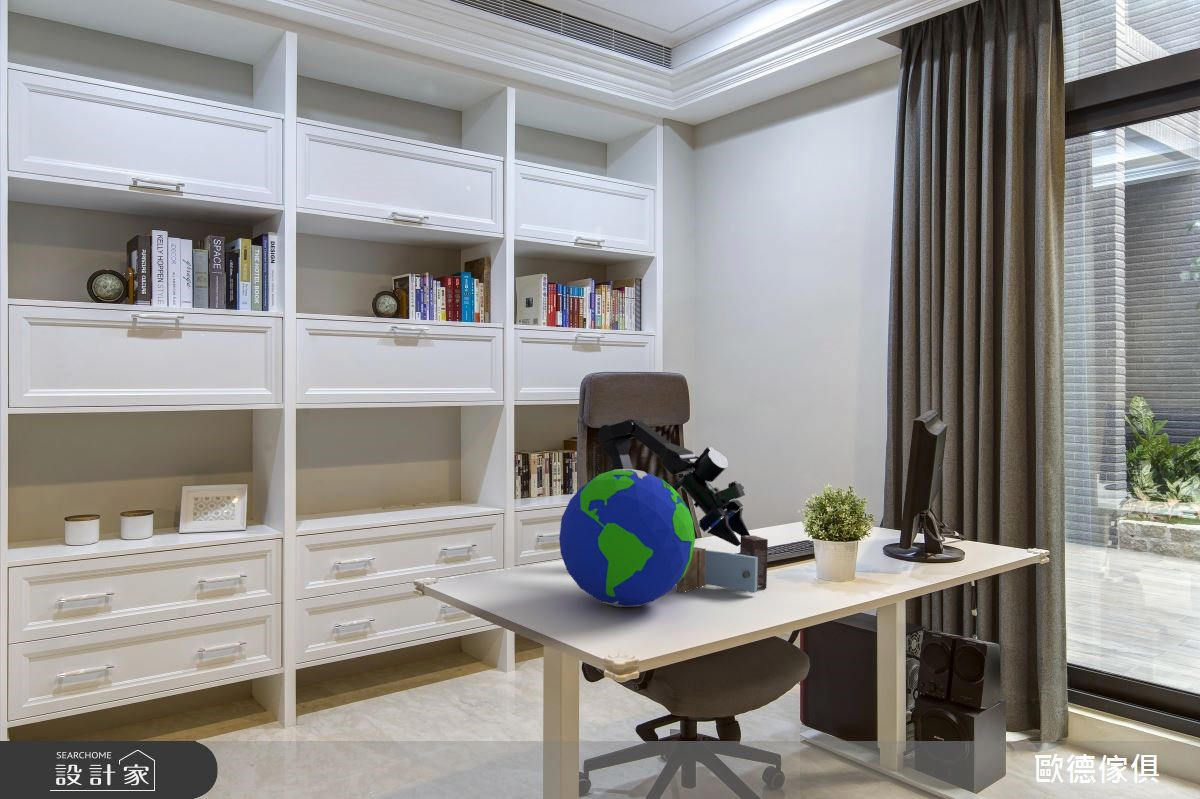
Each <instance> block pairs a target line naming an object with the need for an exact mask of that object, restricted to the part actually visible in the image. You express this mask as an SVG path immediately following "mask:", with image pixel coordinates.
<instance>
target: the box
mask: <svg viewBox="0 0 1200 799" xmlns="http://www.w3.org/2000/svg"><path fill="white" fill-rule="evenodd" d="M768 541H769V539H767V538H763V537H760V536H757V535H750V536H740V543H741V544H740V545H739V546H740V549H739V551H740V552H739V555H746V556H753V557H758V569H757V589H762V590H765V588H766V589H767V581H768V580H767V579H768V578H767V576H768V549H769V548H768V547H769V546H768V545H769V544H768Z"/></svg>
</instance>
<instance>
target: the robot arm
mask: <svg viewBox="0 0 1200 799" xmlns="http://www.w3.org/2000/svg"><path fill="white" fill-rule="evenodd" d="M597 439H598V442H599V444H600V447H601V449H602V450H603V452H604V453H605V454H606V455H607V456H608V457H609V458H610V460H611V463H612V467H613V470H618V469H633V470H634V468H633V465H632V464H633V463H632V460H631V458H630V454H629V451H630V448H631V439H636V440H637V441H638V442H639V443H641V444H642V445H643V446H644V447H646V449H649V451H651V452H652V453H654V454H655V455H656V456H657V457H658V458H659V460H660V463H661V465H662V466H663V468H664V469H665V470H666V471H667V472H668V474H671V475H679V474H684V475H683V476H682V477H678V478H676V479H675V480H674V490H675V491H676V492H678V491H679V490H681V489H683V490H684V491H685V492H686V493H687V494H688V496H689V497H690V498H691V499H692V500H693V502H694V503H693V505H694V507H695V508H700V510H701V511H702V512H703V513H704V516H702V518H701V519H699V520H698V527H699V528H700V529H701V530H702V532H704V533H705V532H707V534H709V535H712V536H715V537H717V538H719V539H721V540H723V541H725V542H727V543H729V544H732V545H733V546H735V547H739V546H740V544H741V543H740V542H741V540H739V538H738V537H737V535H739V536H740V537H741V536H751V534H750V532H749V530H748V528H747V526H746V523H745V522H744V519H743V518H742V516H743V510H744V508H743V506H744V505H743V503H741V502H740V500H739V499H740V498H741V497H743V496H746V494H745V492H744V489H745V487H744V486H743V485H742V484H741V483H740V482H739V483H738V482H737V481H736V480H735V481H732V482H729V483H728V484H727V486H728V487H727V488H724V489H722V490H720V489H719V487H713V486H712V485H711V484H710V483H712V482H714V481H716V479H717V478H718V477H719V476H720V475H721V474H722V473H723V472H724V471H725V470H726V469H727V468H728V467H729V461H728V459H727V457H726V456H725V455H723V454H722V453H721V452H719V451H717V450H715V448H714V447H713V446H710V447H709V446H708V447H706V448H705V449H704V450H703V452H702V453H701V454H700V455H699V456H696V454H695V453H694V452H693V451H692V450H689V449H688V448H686V447H683V446H680V445H677V444H674V443H671V442H670V441H669V440H668V439H666V437H664V436H662V435H661V434H660V433H658V432H657V431H656V430H654V429H653V428H652V427H650V426H649V425H647V423H646V422H645V421H644V420H643V419H640V418H632V419H631V418H628V419H626V420H624V421H621V422H618V423H614V424H613V423H612V424H603V425H601V427H600V428H599V430H598V432H597Z"/></svg>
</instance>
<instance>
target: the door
mask: <svg viewBox="0 0 1200 799" xmlns="http://www.w3.org/2000/svg"><path fill="white" fill-rule="evenodd" d="M757 569H758V557H753V556H746V555H740V553H738V554H737V553H732V552H731V553H730V552H724V551H717V550H711V549H706V551H705V584H707V585H706V586H708V585H709V586H715V587H719V588H726V589H732V590H736V591H737V590H738V591H743V592H750V593H753V594H754V593H757V592H758V590H757Z"/></svg>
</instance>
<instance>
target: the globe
mask: <svg viewBox="0 0 1200 799" xmlns="http://www.w3.org/2000/svg"><path fill="white" fill-rule="evenodd" d="M560 522H561V523H560V529H559V538H558V539H559V549H560V556H561V557H562V560H563V563H564V565H565V568H566V571H567V573H568V575H570V577H571V578H572V579H573V580H574V582H575V584H576V585H577V586H578V587H579V589H581V590H583V592H584V593H587V594H588V595H589V596H591V597H593V598H595V599H596V600H597V601H598V602H601V603H603V604H606V605H607V604H608V605H610V606H613V607H618V608H627V607H629V608H631V607H641V606H643V605H645V604H649V603H651V602H654V601H655V600H657V599H659V598H661V597H662V596H664V595H666V594H668V593H670V591H672V590H673V589H674V587H675V586H677V583H678V582H679V581H680V580H681V579H682V578H683V576H684V575H685V573H686V571H687V569H688V566H689V564H690V562H691V558H692V553H693V548H694V547H695V542H696V535H695V529H694V528H695V527H694V522H693V518H692V515H691V512H690V510H689V508H688V506H687V504H686V502H685V501H684V500H683V498H682V497H681V495H680V493H678V491H675V488H673V486H672V485H670V484H669V483H667V481H665V480H664V479H662V478H660V477H658V476H654V475H653V474H650V473H647V472H645V471H643V470H638V469H634V468H633V469H618V470H614V469H613V470H610V471H607V472H603V473H600V474H598V475H596V476H595V477H594V478H591V480H590V481H588V482H587V483H586V484H584V485H583V486H581V487H580V488H579V489H578V490H577V491H576V492H575V494H574V495H573V496H572V497H571V498H570V500H569V502H568V504H567V506H566V508H565V510H564V512H563V514H562V516H561V520H560Z"/></svg>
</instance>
